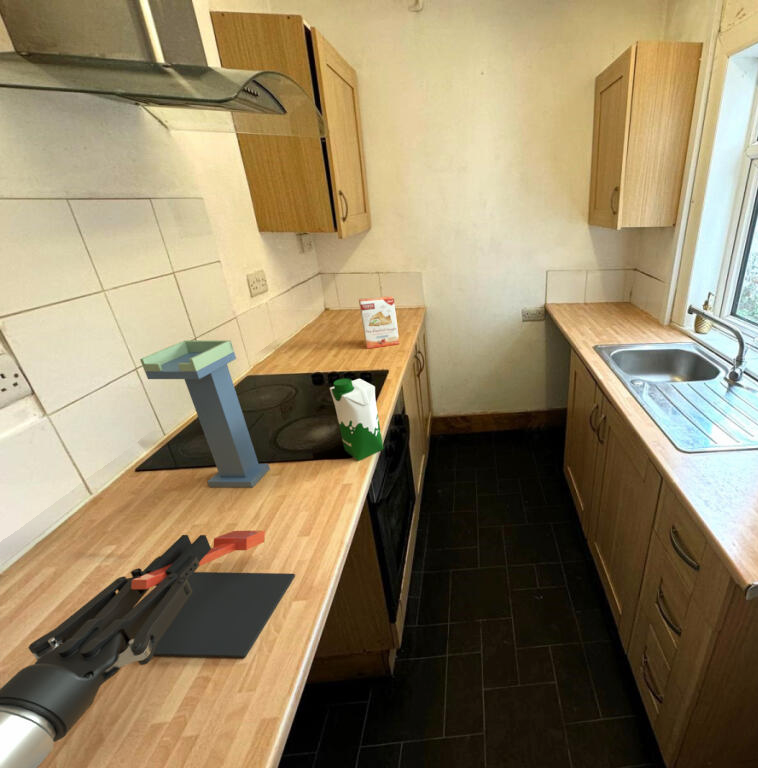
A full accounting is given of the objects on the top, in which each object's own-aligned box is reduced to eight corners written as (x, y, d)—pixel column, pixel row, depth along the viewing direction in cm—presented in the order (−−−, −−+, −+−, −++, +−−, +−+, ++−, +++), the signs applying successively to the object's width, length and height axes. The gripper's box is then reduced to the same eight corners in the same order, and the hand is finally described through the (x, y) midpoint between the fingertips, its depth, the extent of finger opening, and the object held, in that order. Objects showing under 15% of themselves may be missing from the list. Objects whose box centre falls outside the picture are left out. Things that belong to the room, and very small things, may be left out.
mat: (121, 655, 59) (119, 652, 59) (193, 574, 72) (192, 571, 72) (245, 658, 58) (243, 655, 58) (295, 576, 71) (294, 573, 71)
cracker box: (367, 349, 179) (359, 301, 171) (365, 345, 184) (357, 298, 176) (400, 344, 184) (394, 297, 176) (397, 340, 189) (391, 295, 181)
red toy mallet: (116, 589, 52) (118, 573, 52) (233, 542, 73) (234, 530, 73) (160, 589, 52) (161, 572, 52) (264, 542, 73) (265, 530, 73)
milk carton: (339, 451, 107) (324, 379, 98) (371, 437, 113) (359, 369, 104) (356, 464, 101) (341, 390, 93) (389, 449, 107) (377, 378, 99)
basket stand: (196, 499, 90) (139, 359, 77) (229, 468, 100) (184, 340, 87) (241, 499, 90) (192, 358, 76) (270, 469, 100) (230, 340, 87)
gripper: (-34, 746, 42) (157, 560, 63) (110, 751, 41) (253, 561, 63) (-79, 701, 39) (138, 521, 60) (77, 705, 38) (239, 522, 59)
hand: (196, 542), depth 61 cm, fingers closed on red toy mallet, 2 cm apart
